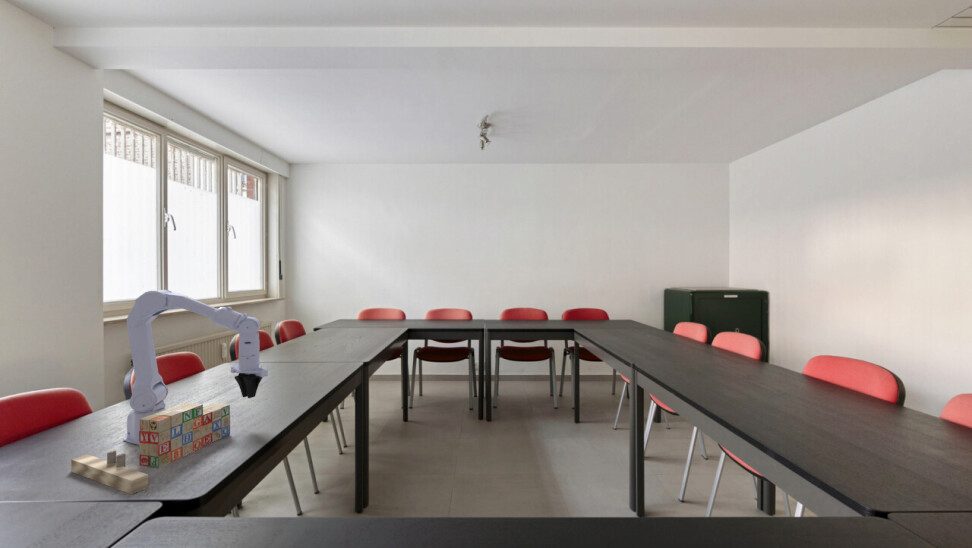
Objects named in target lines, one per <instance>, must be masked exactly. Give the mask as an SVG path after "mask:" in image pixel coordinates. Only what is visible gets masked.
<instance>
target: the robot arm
mask: <svg viewBox="0 0 972 548" xmlns="http://www.w3.org/2000/svg"><path fill="white" fill-rule="evenodd" d="M177 309H178V310H179V309H183V310H185V311H189V312H192V313H195V314H199V315H201V316H204V317H207V318H210V319H211V322H212V324H213V325H217V326H219V327H222V328H224V329H225V328H226V329H228V330H230V331H232V332H235V331H236V332H237V334H239V336H238V338H239V340H238V365H235V366H234V365H233V366H230V373H231V374H235V373H236V374H237V375H234V380H235V381H236V383H237V384H238V387H239V389H240V393H241V396H242V398H247V399H252V398H255V397H256V394H257V391H258V388H259V385H260V383H261V381H262V379H263V378H264V377H268V376H269V375H268V374H269V372H268V371H269V370H268V369H265V368H263V366H262V365H260V332H259V330H260V329H261V326H262V325H261V322H260V319H258V318H257V317H255V316H253V315H249V316H248V313H245V312H244V313H241V312H238V311H236V310H233V308H232V307H231V306H226V307H225V306H221V307H219V308H216V307H214V306H212V305H209V304H207V303H205V302H202V301H199V300H197V299H195V298H192V297H190V296H188V295H185V294H181V293H179V292H175V291H174V292H173V291H171V290H169V289H159V290H149V291H146V292H144V293H142V294H141V295H140V296H138V297H137V298H136V299H135V300H134V305H133V306H132V308H131V310H130V312H129V314H128V315H127V317H126V325H127V332H128V340H129V345H130V353H131V359H132V365H133V366H132V367H133V373H134V382H133V385H132V387H131V391H132V392H131V397H130V399H129V406H130V408H131V409H132V410H131V411H129V414H128V415H127V418H126V437H124V438H123V439H122V441H124V442H128V443H131V444H134V445H138V446H140V443H139V431H140V419H141V418H144V417H147V416H150V415H153V414H156V413H159V412H161V411H165V410H166V403H165V401H164V400H165V399H166V398H167V396H168V394H169V388H168V386H167V385H166V384H165V383H164V379H163V377H162V375H161V374H160V373H159V369H158V363H157V362H158V361H157V355H156V347H155V341H154V335H153V329H152V328H153V327H152V322H153V321H154V320H155V319H156V318H158V317H159V315H161V314H162V313H164V312H166V311H168V310H177Z"/></svg>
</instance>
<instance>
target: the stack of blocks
mask: <svg viewBox="0 0 972 548" xmlns="http://www.w3.org/2000/svg"><path fill="white" fill-rule="evenodd" d="M230 409H231V406H230V404H227V403H226V404H224V403H210V404H209V405H208V404H207V405H205V406H204V405H203V404H201V403H199V404H197V403H187V402H185V403H182V404H178V405H176V406H172V407H170V408H167V409H165V411H161V412H159V413H156V414H153V415H150V416H147V417H144V418H141V419H140V431H139V443H140V445H139V467H145V466H146V467H147V468H155V469H160V468H162V467H165V466H166V465H168V464H171V463H174V462H175V461H177V460H179V458H180V459H181V457H182V458H184V457H186V456H188V455H190V454H192V453H194V452H196V451H197V450H196V449H198V450H200V449H202V448H204V447H206V446H208V445H210V444H212V443H211V442H213V443H215V442H216V440H217V441H219V440H221V439H224V438H225V437H227V436H230V434H231V411H230ZM218 439H219V440H218ZM214 441H215V442H214ZM209 443H210V444H209ZM207 444H208V445H207ZM205 445H206V446H205ZM203 446H204V447H203ZM201 447H202V448H201ZM199 448H200V449H199ZM195 450H196V451H195ZM193 451H194V452H193ZM191 452H192V453H191ZM189 453H190V454H189ZM187 454H188V455H187ZM183 456H184V457H183Z"/></svg>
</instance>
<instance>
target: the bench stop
mask: <svg viewBox="0 0 972 548" xmlns="http://www.w3.org/2000/svg"><path fill="white" fill-rule="evenodd" d="M126 461H127V459H126V453H120V454H117V450H110V451H108V452H107V453H106V459H102V458H101V457H100V458H99V457H97V456H93V455H91V454H89V453H88V454H84V455H81V456H79V457H74V458H72V459H71V463H70V465H71V471H70V472H72V473H74V474H77V475H79V476H82V477H85V478H88V479H89V478H90V480H92V481H95V482H97V481H98V483H100V484H103V485H106V486H108V487H111V488H113V489H116V490H118V491H121V490H122V491H121V492H124V493H127V494H130V495H134V493H135V494H137V493H138V491H139V492H142V491H144V490H145V489H149V474H148V473H144V472H141V471H138V470H136V469H133V468H130V467H127V466H126ZM143 489H144V490H143ZM141 490H142V491H141ZM136 492H137V493H136Z"/></svg>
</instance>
